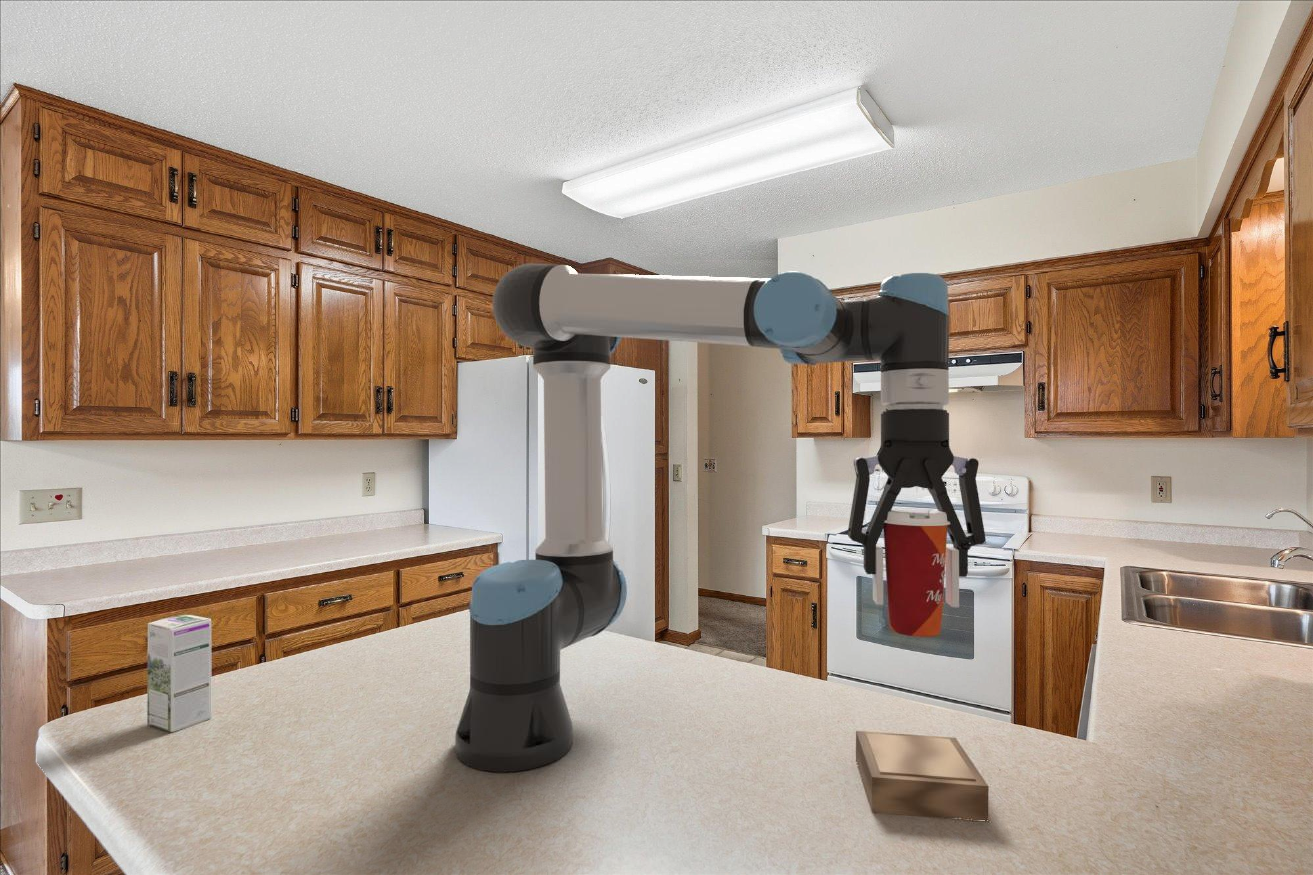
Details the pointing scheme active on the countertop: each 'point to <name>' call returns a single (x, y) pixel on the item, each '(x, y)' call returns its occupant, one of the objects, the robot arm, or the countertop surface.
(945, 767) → the plinth
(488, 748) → the robot arm
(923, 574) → the paper cup
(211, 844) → the countertop surface
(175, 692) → the syrup box
